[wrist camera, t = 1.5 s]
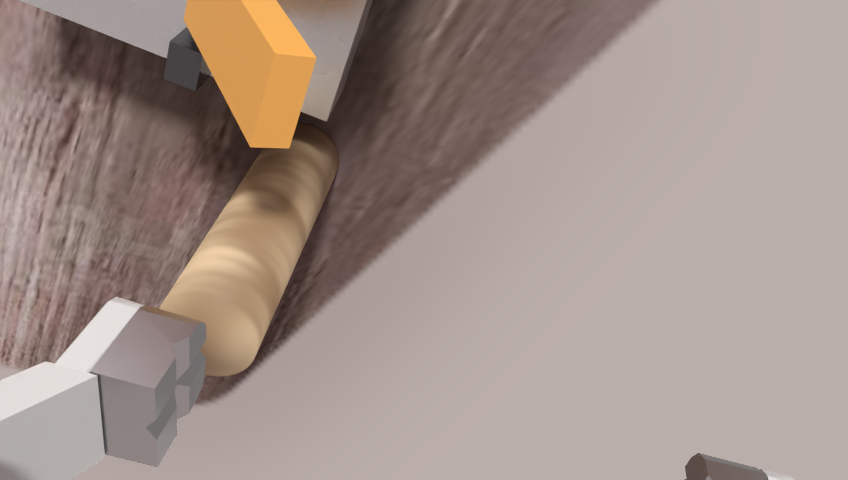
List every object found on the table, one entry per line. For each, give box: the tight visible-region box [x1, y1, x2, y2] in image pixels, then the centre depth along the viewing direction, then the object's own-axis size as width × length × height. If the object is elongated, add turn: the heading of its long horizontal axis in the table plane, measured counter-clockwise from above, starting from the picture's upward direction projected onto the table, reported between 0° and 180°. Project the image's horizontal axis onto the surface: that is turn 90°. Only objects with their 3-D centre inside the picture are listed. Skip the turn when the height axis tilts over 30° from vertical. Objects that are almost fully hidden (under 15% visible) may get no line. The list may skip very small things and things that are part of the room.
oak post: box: [159, 123, 339, 376], centre depth 37 cm, size 4×4×16 cm
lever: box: [184, 0, 317, 148], centre depth 30 cm, size 2×4×11 cm
